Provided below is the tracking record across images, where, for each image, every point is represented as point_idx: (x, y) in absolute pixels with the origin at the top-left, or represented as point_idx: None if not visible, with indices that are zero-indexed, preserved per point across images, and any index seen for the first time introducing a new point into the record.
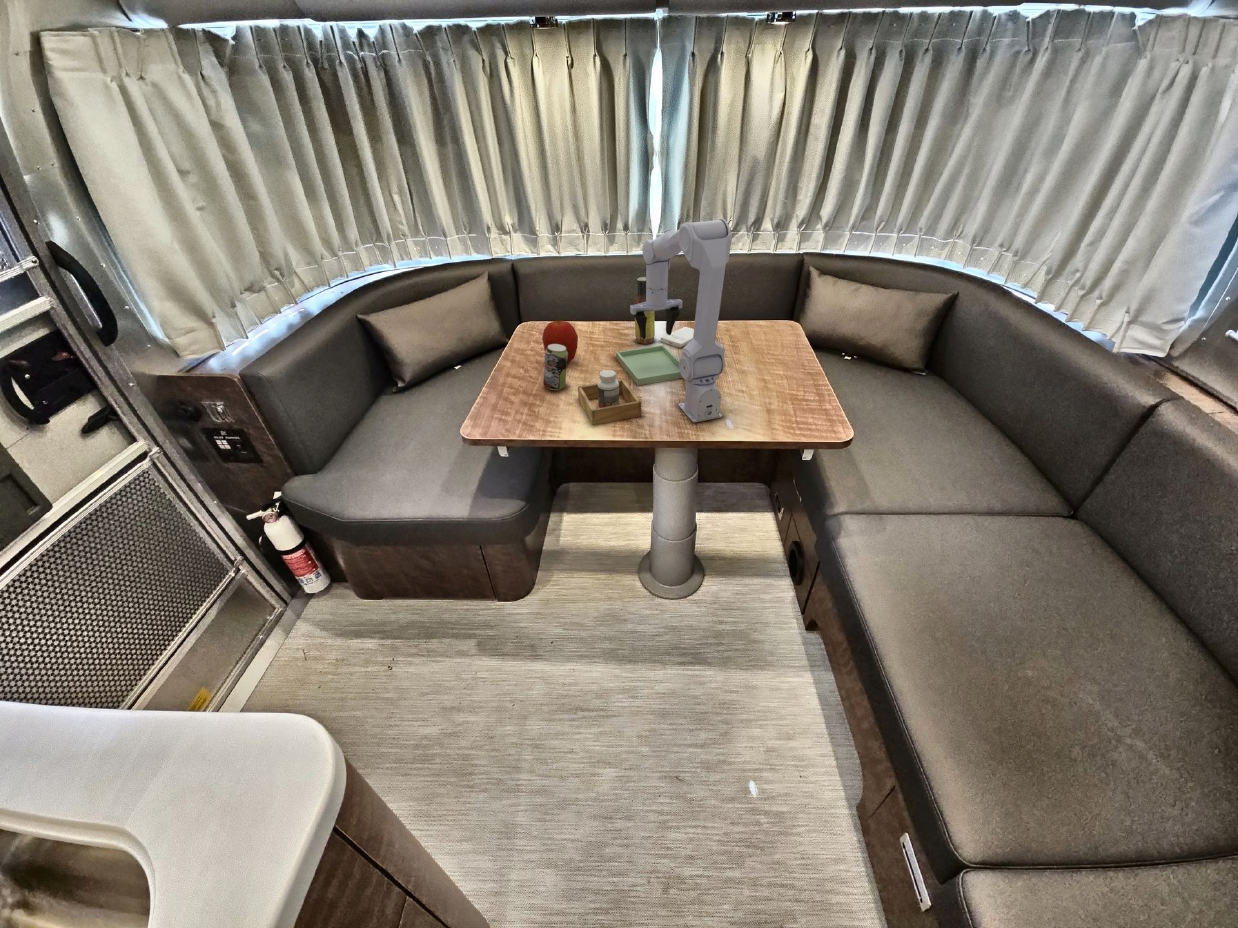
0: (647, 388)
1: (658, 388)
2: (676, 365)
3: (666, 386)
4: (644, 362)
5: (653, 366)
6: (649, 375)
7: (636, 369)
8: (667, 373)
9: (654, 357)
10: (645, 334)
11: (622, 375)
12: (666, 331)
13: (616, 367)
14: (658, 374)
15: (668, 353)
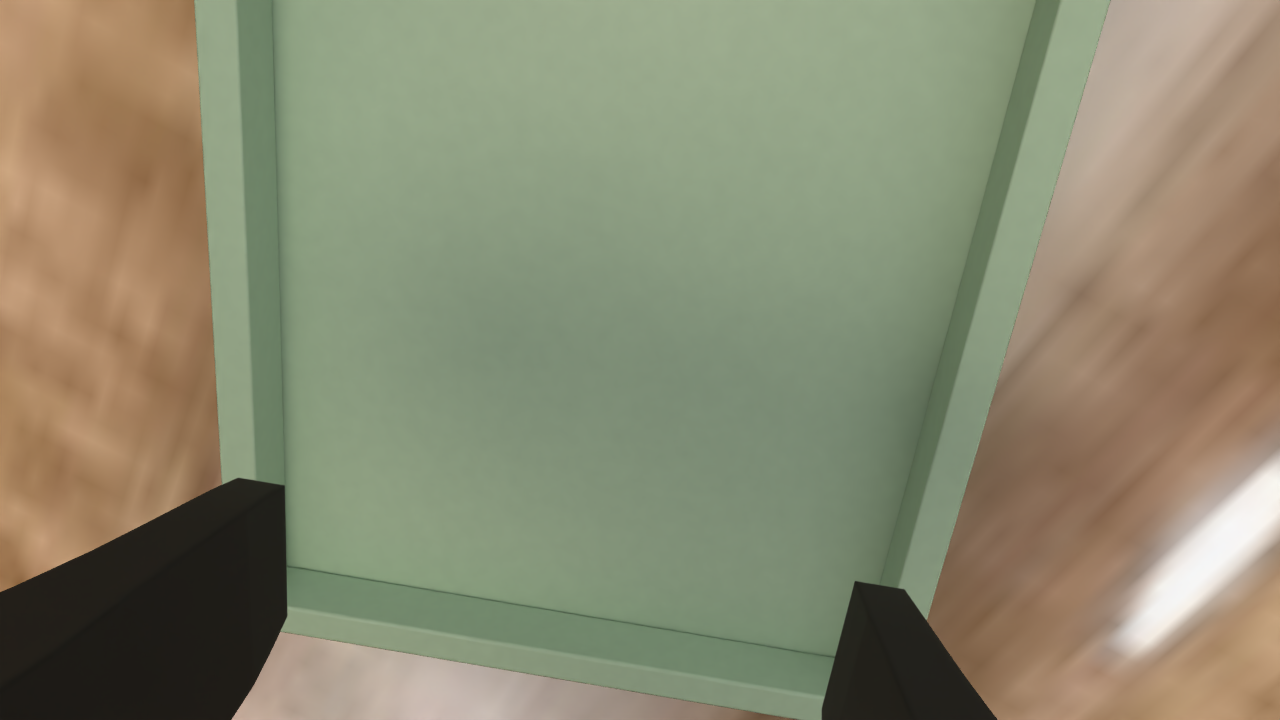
0: (342, 660)
1: (445, 709)
2: (914, 426)
3: (539, 715)
4: (566, 121)
5: (621, 302)
6: (457, 488)
7: (371, 269)
8: (604, 679)
9: (794, 32)
10: (227, 711)
11: (174, 281)
12: (854, 622)
13: (157, 16)
14: (494, 650)
15: (1017, 131)
